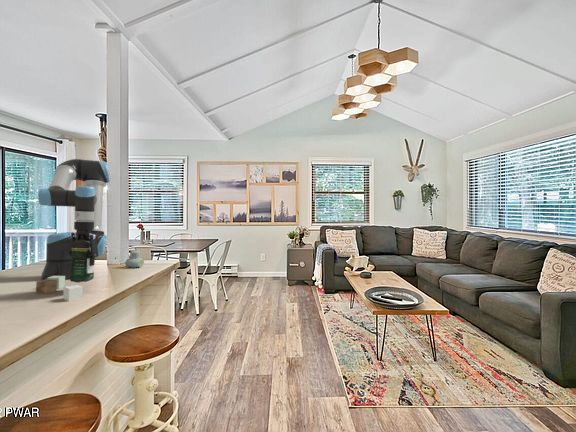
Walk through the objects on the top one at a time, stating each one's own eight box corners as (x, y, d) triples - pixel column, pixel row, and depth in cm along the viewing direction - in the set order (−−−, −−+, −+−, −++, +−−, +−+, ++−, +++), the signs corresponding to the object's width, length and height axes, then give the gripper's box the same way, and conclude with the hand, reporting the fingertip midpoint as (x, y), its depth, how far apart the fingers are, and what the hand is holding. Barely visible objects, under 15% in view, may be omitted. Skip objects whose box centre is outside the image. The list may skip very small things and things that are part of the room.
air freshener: (133, 265, 215) (133, 250, 215) (145, 266, 214) (146, 250, 214) (123, 268, 204) (123, 252, 204) (136, 269, 204) (136, 252, 203)
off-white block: (63, 299, 134) (63, 286, 133) (76, 296, 138) (77, 284, 138) (68, 301, 131) (69, 288, 131) (82, 299, 135) (82, 286, 135)
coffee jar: (87, 283, 143) (88, 240, 143) (67, 282, 142) (68, 239, 142) (96, 278, 153) (98, 238, 152) (78, 278, 152) (79, 237, 151)
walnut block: (36, 293, 141) (36, 281, 141) (46, 290, 146) (46, 279, 146) (46, 294, 140) (46, 282, 140) (56, 291, 145) (56, 280, 145)
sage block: (46, 289, 148) (47, 277, 148) (53, 286, 153) (53, 275, 153) (58, 289, 149) (58, 278, 149) (64, 286, 154) (65, 275, 154)
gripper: (59, 219, 148) (58, 269, 148) (93, 222, 139) (91, 276, 139) (76, 219, 154) (75, 267, 155) (109, 222, 146) (107, 273, 146)
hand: (82, 271), depth 147 cm, fingers closed on coffee jar, 9 cm apart
